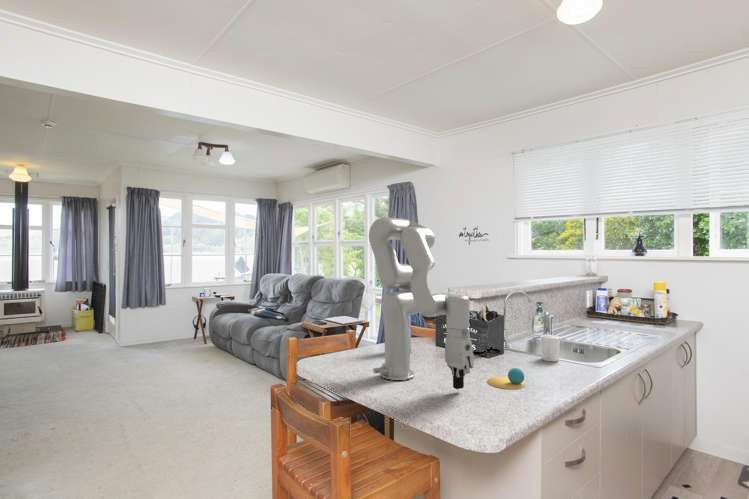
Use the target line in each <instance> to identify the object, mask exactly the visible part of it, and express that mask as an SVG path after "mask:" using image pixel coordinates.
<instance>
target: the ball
mask: <svg viewBox="0 0 749 499" xmlns="http://www.w3.org/2000/svg"><path fill="white" fill-rule="evenodd" d="M507 377H508V379H509V380H510V382H512V383H513V384H520V383H522V382H524V380H525V374H524V372H523V371H522V370H521V369H520V368H518V367H514V368H511V369H510V370H508V373H507Z"/></svg>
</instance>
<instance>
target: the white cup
mask: <svg viewBox="0 0 749 499" xmlns="http://www.w3.org/2000/svg"><path fill="white" fill-rule="evenodd" d="M539 338H540V352H541V359H542V360H543V361H546V362H559V360H560V351H561V350H560V346H561V336H559V335H556V334H548V333H547V334H540V336H539Z"/></svg>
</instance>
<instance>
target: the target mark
mask: <svg viewBox="0 0 749 499" xmlns="http://www.w3.org/2000/svg"><path fill="white" fill-rule="evenodd" d="M486 382H487V384H488V385H489V386H492V387H494V388H498V389H504V390H520V389H522V388H525V387H526V382H524V381H523V382H522V383H520V384H513V383H512V382H510V380H509V379H508V376H496V377H489V378H488V379H487V380H486Z"/></svg>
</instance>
